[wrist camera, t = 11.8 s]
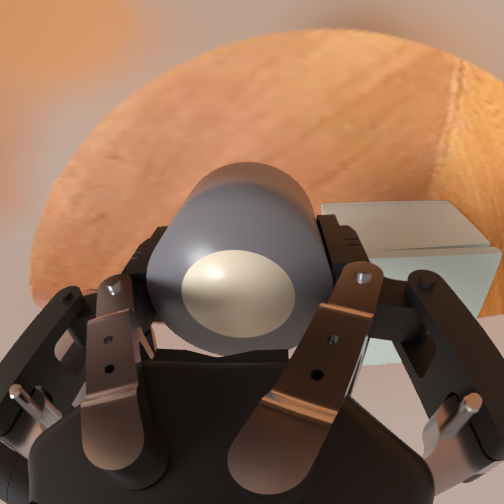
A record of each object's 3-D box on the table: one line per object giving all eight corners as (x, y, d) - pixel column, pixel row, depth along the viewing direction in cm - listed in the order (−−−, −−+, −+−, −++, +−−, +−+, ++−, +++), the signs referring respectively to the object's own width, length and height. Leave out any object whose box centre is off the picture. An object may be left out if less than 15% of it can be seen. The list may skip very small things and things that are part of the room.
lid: (328, 359, 29) (328, 367, 28) (337, 251, 22) (339, 259, 21) (455, 347, 26) (457, 354, 26) (497, 246, 19) (502, 253, 18)
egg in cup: (192, 278, 15) (166, 352, 11) (177, 164, 12) (128, 212, 8) (309, 280, 15) (320, 358, 11) (319, 163, 12) (346, 213, 8)
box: (320, 300, 36) (328, 358, 29) (321, 203, 29) (337, 253, 22) (427, 290, 35) (452, 340, 27) (448, 200, 28) (490, 242, 20)
